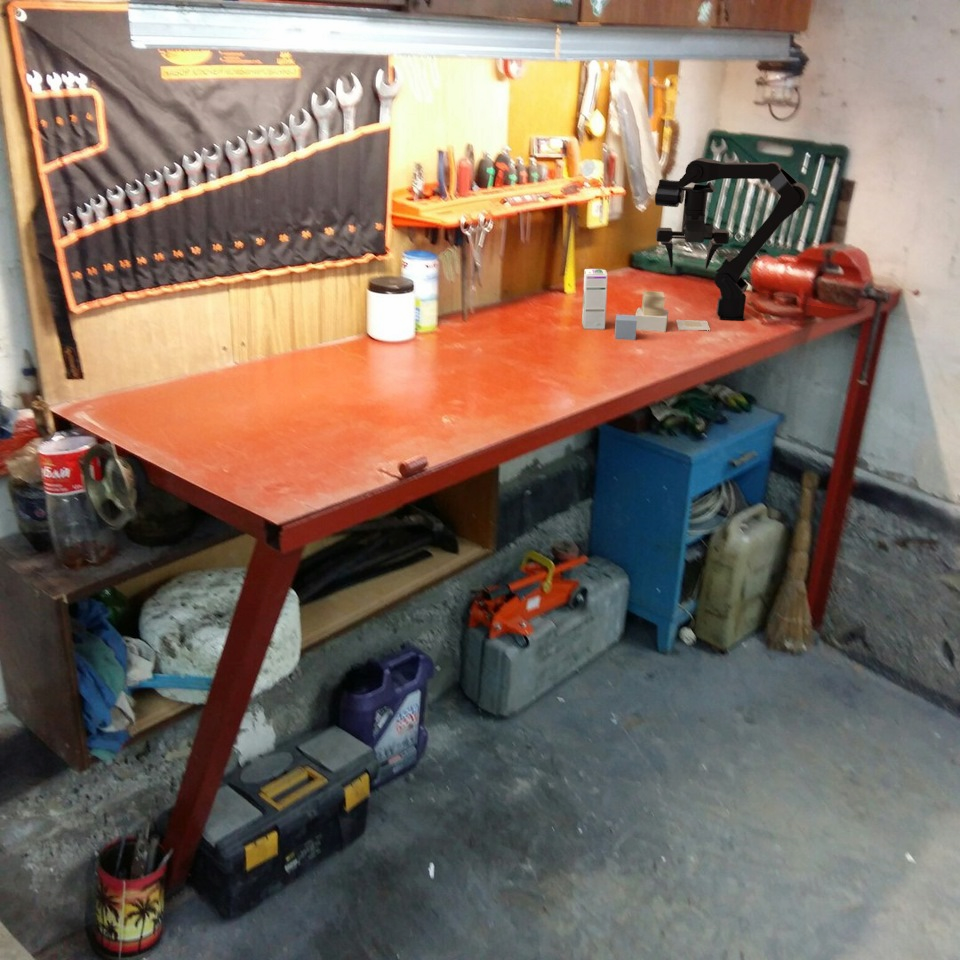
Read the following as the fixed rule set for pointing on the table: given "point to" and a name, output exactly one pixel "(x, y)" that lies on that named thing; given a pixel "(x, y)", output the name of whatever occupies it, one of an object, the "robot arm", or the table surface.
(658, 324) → the base block
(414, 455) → the table surface
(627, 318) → the slate-blue cube
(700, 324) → the tile
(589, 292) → the syrup box
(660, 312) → the birch cube
